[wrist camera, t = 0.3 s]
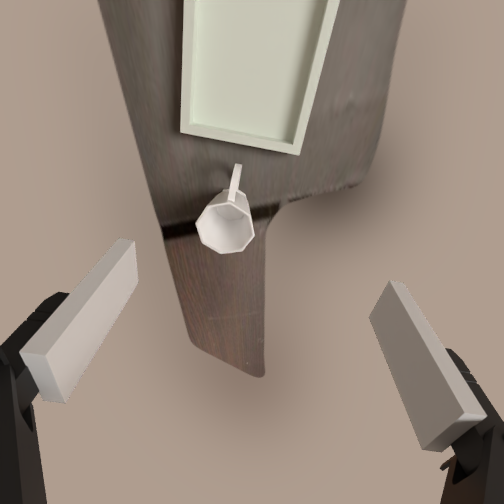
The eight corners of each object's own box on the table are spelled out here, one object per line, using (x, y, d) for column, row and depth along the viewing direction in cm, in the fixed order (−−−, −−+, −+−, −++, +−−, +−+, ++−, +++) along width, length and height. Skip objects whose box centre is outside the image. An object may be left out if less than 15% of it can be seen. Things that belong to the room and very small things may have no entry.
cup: (204, 219, 41) (192, 248, 34) (213, 149, 35) (201, 168, 28) (251, 228, 41) (248, 259, 34) (267, 162, 36) (267, 183, 29)
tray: (195, -128, 23) (187, -148, 21) (358, -89, 24) (366, -104, 22) (185, 128, 34) (180, 132, 32) (297, 150, 35) (299, 155, 33)
